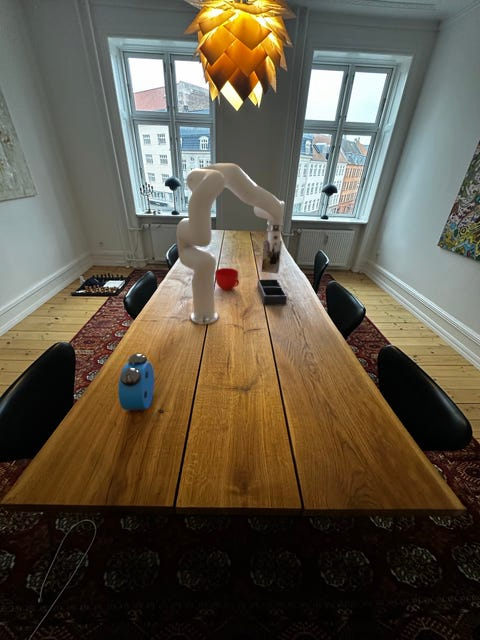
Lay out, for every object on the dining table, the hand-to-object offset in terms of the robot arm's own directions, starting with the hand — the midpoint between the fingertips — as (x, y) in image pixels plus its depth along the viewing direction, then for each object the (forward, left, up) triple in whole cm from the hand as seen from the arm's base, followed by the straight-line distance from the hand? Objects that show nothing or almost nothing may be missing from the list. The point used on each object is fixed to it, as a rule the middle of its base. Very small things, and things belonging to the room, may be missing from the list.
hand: (271, 261), depth 138 cm
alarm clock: (-78, +53, -18) cm, 96 cm away
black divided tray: (-5, 0, -18) cm, 19 cm away
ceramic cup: (+3, +23, -18) cm, 29 cm away
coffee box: (0, 0, -6) cm, 6 cm away
